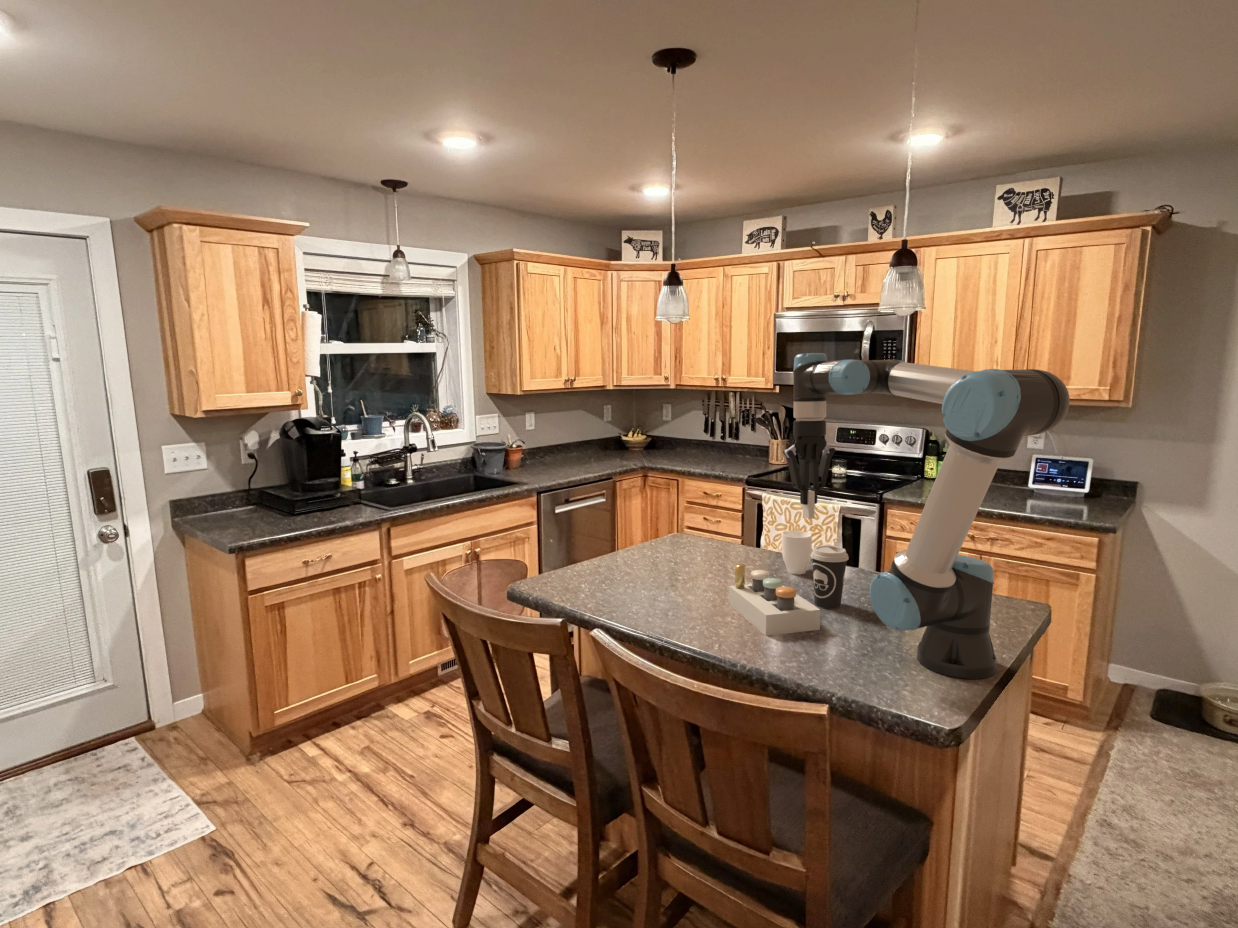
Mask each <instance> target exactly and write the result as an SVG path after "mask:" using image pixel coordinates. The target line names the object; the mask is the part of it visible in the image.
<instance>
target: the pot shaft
mask: <svg viewBox="0 0 1238 928" xmlns="http://www.w3.org/2000/svg"><path fill="white" fill-rule="evenodd" d="M745 578H746V564H742V563H737V564H735V578H734V579H735V581H734V585H735V588H737V589H744V588H745V584H746V583H745V582H746V581H745Z"/></svg>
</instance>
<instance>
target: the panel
mask: <svg viewBox="0 0 1238 928" xmlns="http://www.w3.org/2000/svg"><path fill="white" fill-rule="evenodd" d="M782 587H786V586H785V585H783V586H782ZM728 605H729V606H730V607H731V608H732V609H734V610H735V611H736V612H737V613H738V614H739V615H740V616H742V617H743V618H744V619H746V620H747V621H748V622H749V623H750V624H751V625H753V626H754V627H755V628H756V629H757V630H758V631H759V632H761V633H762V634H763V635H764V636H767V637H769V636H774V635H784V634H792V633H793V634H794V633H803V632H810V631H811V632H812V631H820V630H821V629H820V628H821V627H820V626H821V609H820V607H819V608H818V606H816V605H814V604H812V603H811V602H810V601H809V600H807V599H805V598H803V597H802V596H800V595H799V594H798V593H796V597H794V610H788V611H780V610H779V609H777V601H766V600H765V599H764V592H754V591H753V590H752V583H745V588H744V589H737V588H735V584H733V585H729V586H728Z"/></svg>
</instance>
